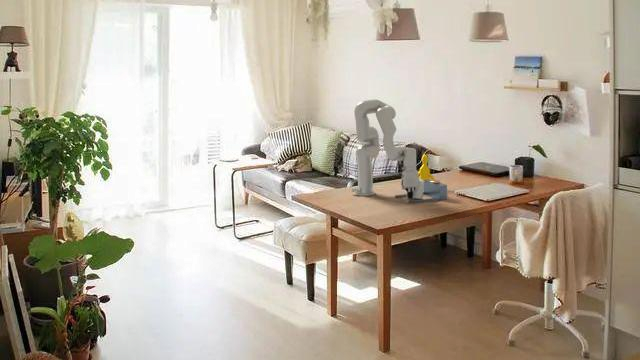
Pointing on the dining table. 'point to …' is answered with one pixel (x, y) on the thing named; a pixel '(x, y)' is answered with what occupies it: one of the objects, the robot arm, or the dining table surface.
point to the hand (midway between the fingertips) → (410, 198)
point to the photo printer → (419, 190)
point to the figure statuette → (425, 170)
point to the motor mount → (430, 192)
